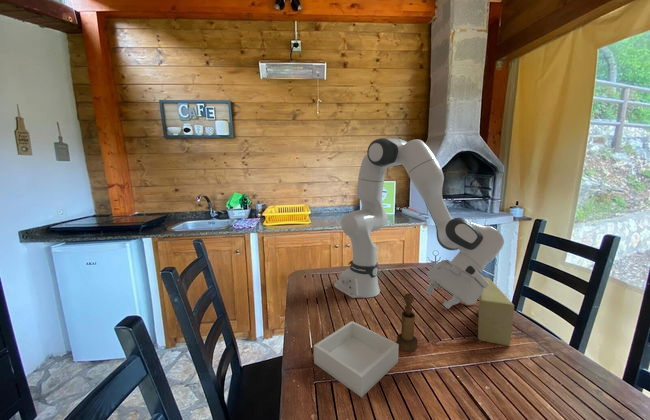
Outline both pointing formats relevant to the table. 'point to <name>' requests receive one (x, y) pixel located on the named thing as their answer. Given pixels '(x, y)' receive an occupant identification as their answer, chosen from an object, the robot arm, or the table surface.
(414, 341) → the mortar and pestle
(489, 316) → the cheese
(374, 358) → the open box
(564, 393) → the table surface
